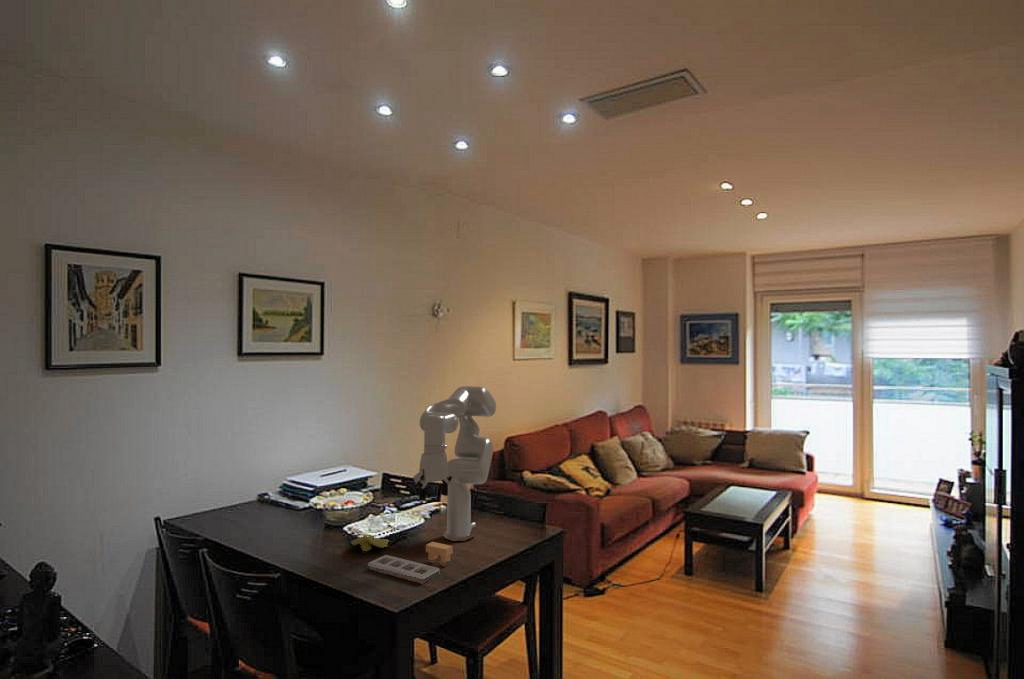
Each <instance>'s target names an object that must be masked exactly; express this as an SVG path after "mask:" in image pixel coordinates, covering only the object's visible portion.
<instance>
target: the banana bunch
mask: <svg viewBox="0 0 1024 679" xmlns="http://www.w3.org/2000/svg"><path fill="white" fill-rule="evenodd" d="M386 526H388V527H391V528H393V526H392V525H391V524H387V525H386ZM360 537H361V538H360ZM360 537H358V538H356V539H354V540H351V541H350V544H352V545H353V546H356V545H359V544H360V545H361V546H360V545H359V546H360V548H361V550H363V551H366V552H368V551H370V550H373V549H372V546H375V547H377V548H380V549H385V548H384V547H386V548H388V547H389V546H388V545H387V544H388V542H389V540H388V539H375V538H374V536H370V537H367V536H364V535H363V537H362V536H360ZM387 546H388V547H387ZM363 551H362V552H363Z"/></svg>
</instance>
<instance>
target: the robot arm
mask: <svg viewBox="0 0 1024 679" xmlns="http://www.w3.org/2000/svg"><path fill="white" fill-rule="evenodd" d="M496 410H497V402H496V400H495V398H494V396H493V395H492V394H491V392H490V391H489V390H488V389H487V388H486V387H483V386H465V385H464V386H460V387H458V388H457V389H455V390H454V392H453V393H452V394H451V395H450V396H449V398H447V399H444V400H441V401H438V402H437V403H433V404H431V405H429V406H428V407H426V409H425V410H424V411H423V412H422V414H421V416H420V419H419V427H420V429H421V431H423V432H424V439H423V440H424V441H423V442H424V443H423V453H421V456H420V462H419V469H418V470H419V471H418V472H417V473H416V474H415V475H413V477H412V478H413V481H414V483H415V485H416V486H417V488H418V498H419V499H420V500H422V501H426V499H427V488H426V487H427V485H428V483H436V482H440V481H441V484H440V495H441V496H445V497H446V499H447V500H446V507H447V508H446V509H447V510H446V515H447V516H446V531H445V532H443V534H442V537H443V536H444V537H446V538H448V537H449V539H450V537H452V538H462V537H466V536H469V535H470V532H471V531H472V529H473V528H475V527H476V525H477V524H476V522H475V521H474V522H471V518H472V517H471V515H472V514H471V511H472V510H471V507H472V506H471V504H472V503H471V502H472V500H471V499H472V498H471V497H472V494H471V490H470V487H469V486H468V485H467V484H469V485H470V484H471V485H483V484H485V483H486V482H487V480H488V477H489V472H490V467H491V463H492V458H493V455H494V454H493V453H494V444H493V441H492V440H491V439H490V438H488V437H486V436H485V437H484V436H479V435H480V426H479V424H478V423H477V421H476V420H475V419H474V418H473V417H483V418H484V417H487V418H488V417H489V418H490V417H492V416H494V414H495V412H496ZM458 428H459V430H458V435H457V438H456V442H455V445H454V455H455V457H456V458H452V459H450V460H448V457H447V456H448V455H447V452H446V449H448V445H447V444H446V434H451V433H454V432H456V431H457V429H458Z"/></svg>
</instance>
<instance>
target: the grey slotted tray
mask: <svg viewBox="0 0 1024 679" xmlns="http://www.w3.org/2000/svg"><path fill="white" fill-rule="evenodd" d="M384 561H388V563H386V564H382V562H384ZM396 564H400V565H401V566H399V567H394V566H393V565H396ZM368 566H370V567H374V568H379V569H384V570H388V571H392V572H395V573H399V574H403V575H407V576H412V577H416V578H419V579H425V578H427V577H429V576H430V575H432V574H434V573H436V572H438V571H439V572H440V567H437V566H433V565H429V564H424V563H422V562H421V563H419V562H416V561H412V560H408V559H404V558H401V557H396V556H394V555H393V556H392V555H387V554H385V555H383V556H380V557H377V558H375V559H374V560H371V561H369V562H367V567H368ZM408 567H414V569H412V570H410V571H409V570H405V569H406V568H408ZM420 570H426V571H427V572H425V573H423V574H421V573H417V572H419V571H420Z"/></svg>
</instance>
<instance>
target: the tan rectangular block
mask: <svg viewBox="0 0 1024 679" xmlns="http://www.w3.org/2000/svg"><path fill="white" fill-rule="evenodd" d="M453 548H454V547H453V545H450V544H445V543H440V542H435V541H431V542H429V543H427V544H425V553H428V554H427V556H428V557H427V558H428V559H429V560H434V559H436V558H438V559H439V556H440V563H441V562H443V563H445V562H447V561H450V562H451V555H452V554H454V551H453V550H454V549H453ZM428 559H427V560H428Z"/></svg>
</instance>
